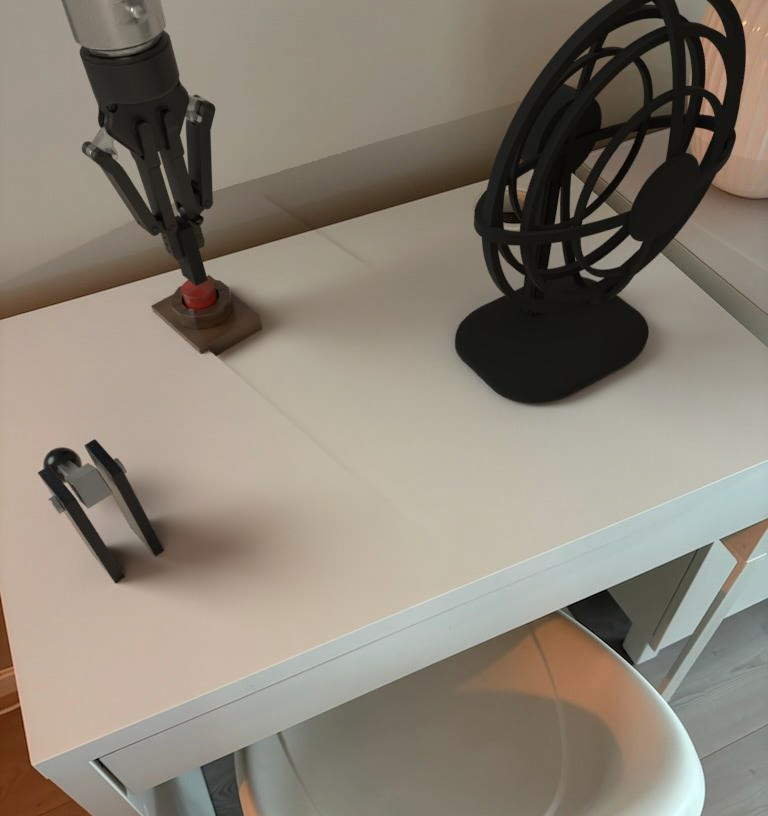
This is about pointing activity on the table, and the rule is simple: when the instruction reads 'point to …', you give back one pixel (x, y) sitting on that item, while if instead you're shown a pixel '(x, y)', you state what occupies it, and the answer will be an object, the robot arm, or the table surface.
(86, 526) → the bracket
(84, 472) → the lever
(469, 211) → the table surface
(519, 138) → the desk fan
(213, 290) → the button
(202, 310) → the button block
